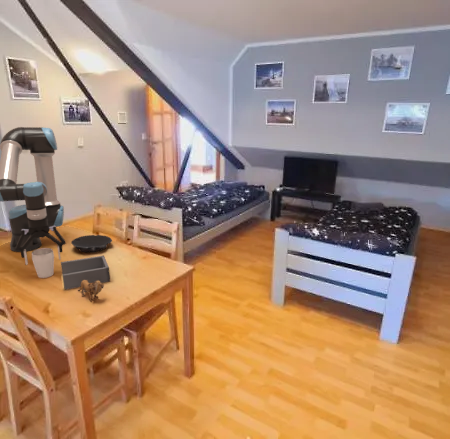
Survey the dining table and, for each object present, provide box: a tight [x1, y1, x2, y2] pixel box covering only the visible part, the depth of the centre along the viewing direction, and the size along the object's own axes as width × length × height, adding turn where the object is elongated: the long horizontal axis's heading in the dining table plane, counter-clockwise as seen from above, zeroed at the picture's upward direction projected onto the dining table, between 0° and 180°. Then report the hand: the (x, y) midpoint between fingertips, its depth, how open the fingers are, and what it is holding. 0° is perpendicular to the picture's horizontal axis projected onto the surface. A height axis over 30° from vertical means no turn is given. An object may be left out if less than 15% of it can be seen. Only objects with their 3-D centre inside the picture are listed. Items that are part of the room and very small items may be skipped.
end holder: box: [60, 255, 111, 291], centre depth 156 cm, size 14×20×7 cm
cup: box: [31, 247, 55, 279], centre depth 157 cm, size 9×9×12 cm
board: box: [71, 234, 113, 254], centre depth 189 cm, size 22×22×5 cm
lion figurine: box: [77, 280, 105, 303], centre depth 141 cm, size 15×5×9 cm, turn 63°
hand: (43, 261), depth 156 cm, fingers open, 13 cm apart
